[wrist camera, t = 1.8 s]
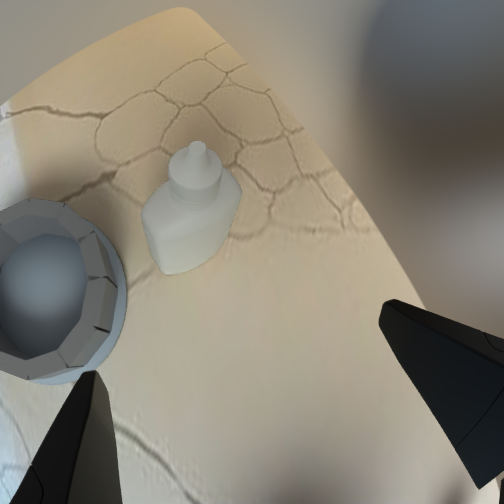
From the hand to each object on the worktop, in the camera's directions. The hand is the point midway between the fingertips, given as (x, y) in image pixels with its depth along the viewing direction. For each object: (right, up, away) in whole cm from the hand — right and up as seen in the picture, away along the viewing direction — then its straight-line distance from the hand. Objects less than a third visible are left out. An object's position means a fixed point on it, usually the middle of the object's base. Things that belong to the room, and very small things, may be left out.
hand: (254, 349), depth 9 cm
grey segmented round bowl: (-15, 0, +11) cm, 19 cm away
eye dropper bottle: (-5, +3, +15) cm, 16 cm away
